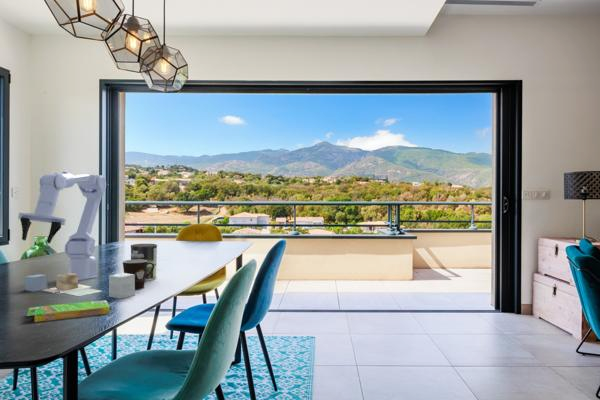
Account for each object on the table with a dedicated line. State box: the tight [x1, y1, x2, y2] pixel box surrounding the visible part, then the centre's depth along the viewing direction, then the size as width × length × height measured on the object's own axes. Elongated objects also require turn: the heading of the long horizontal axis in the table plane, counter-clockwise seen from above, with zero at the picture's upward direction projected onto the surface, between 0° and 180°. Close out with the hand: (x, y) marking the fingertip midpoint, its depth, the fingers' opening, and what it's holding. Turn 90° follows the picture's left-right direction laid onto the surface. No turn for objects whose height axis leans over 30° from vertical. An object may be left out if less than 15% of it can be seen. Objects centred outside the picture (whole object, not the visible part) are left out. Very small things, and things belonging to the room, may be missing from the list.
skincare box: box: [108, 272, 136, 299], centre depth 144 cm, size 6×6×7 cm
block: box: [56, 272, 79, 290], centre depth 154 cm, size 5×5×5 cm
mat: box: [64, 287, 104, 297], centre depth 148 cm, size 9×9×1 cm
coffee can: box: [130, 243, 158, 282], centre depth 174 cm, size 10×10×14 cm
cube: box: [24, 273, 48, 292], centre depth 152 cm, size 5×5×5 cm
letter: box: [42, 283, 92, 294], centre depth 154 cm, size 13×10×1 cm
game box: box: [26, 299, 111, 323], centre depth 122 cm, size 3×10×20 cm
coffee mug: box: [122, 259, 154, 291], centre depth 158 cm, size 12×9×10 cm
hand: (36, 241), depth 147 cm, fingers open, 7 cm apart
